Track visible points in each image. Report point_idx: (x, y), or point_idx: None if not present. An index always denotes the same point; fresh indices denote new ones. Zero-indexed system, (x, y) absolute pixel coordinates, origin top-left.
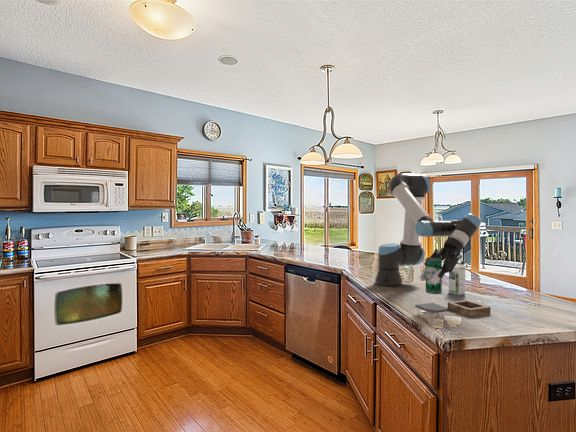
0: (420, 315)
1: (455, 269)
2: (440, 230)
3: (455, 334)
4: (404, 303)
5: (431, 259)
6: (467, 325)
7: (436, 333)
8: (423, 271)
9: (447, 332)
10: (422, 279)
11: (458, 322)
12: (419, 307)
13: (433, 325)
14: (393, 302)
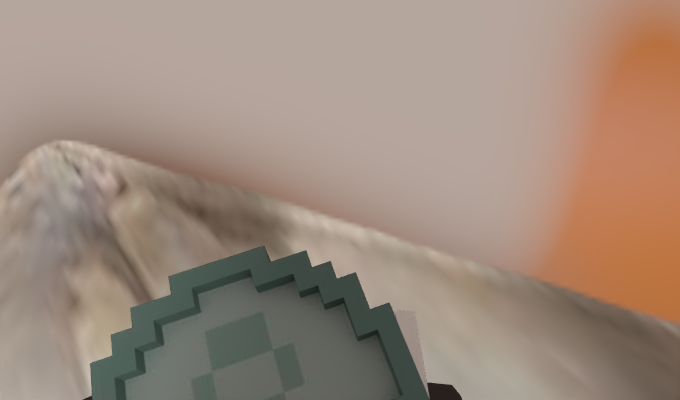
0: (269, 253)
1: None
2: None
3: (36, 200)
4: (491, 344)
5: (211, 266)
6: (34, 349)
7: (94, 149)
8: (421, 365)
9: (68, 190)
10: None
11: (86, 346)
12: None
13: (148, 202)
14: (530, 293)
